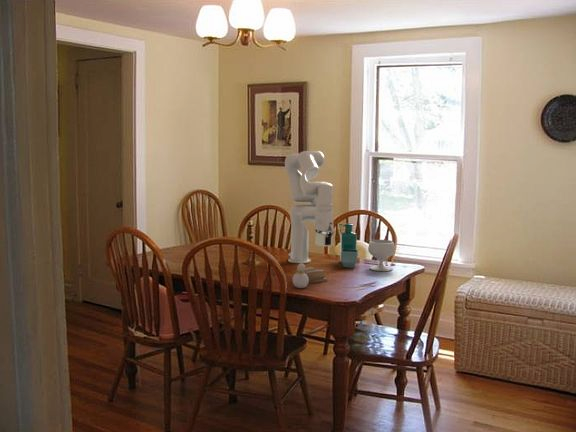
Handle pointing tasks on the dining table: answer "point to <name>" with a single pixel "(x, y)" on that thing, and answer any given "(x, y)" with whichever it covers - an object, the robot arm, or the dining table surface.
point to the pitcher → (348, 238)
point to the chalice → (381, 252)
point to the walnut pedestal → (314, 275)
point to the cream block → (321, 239)
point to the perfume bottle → (300, 277)
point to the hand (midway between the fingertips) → (323, 243)
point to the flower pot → (349, 257)
